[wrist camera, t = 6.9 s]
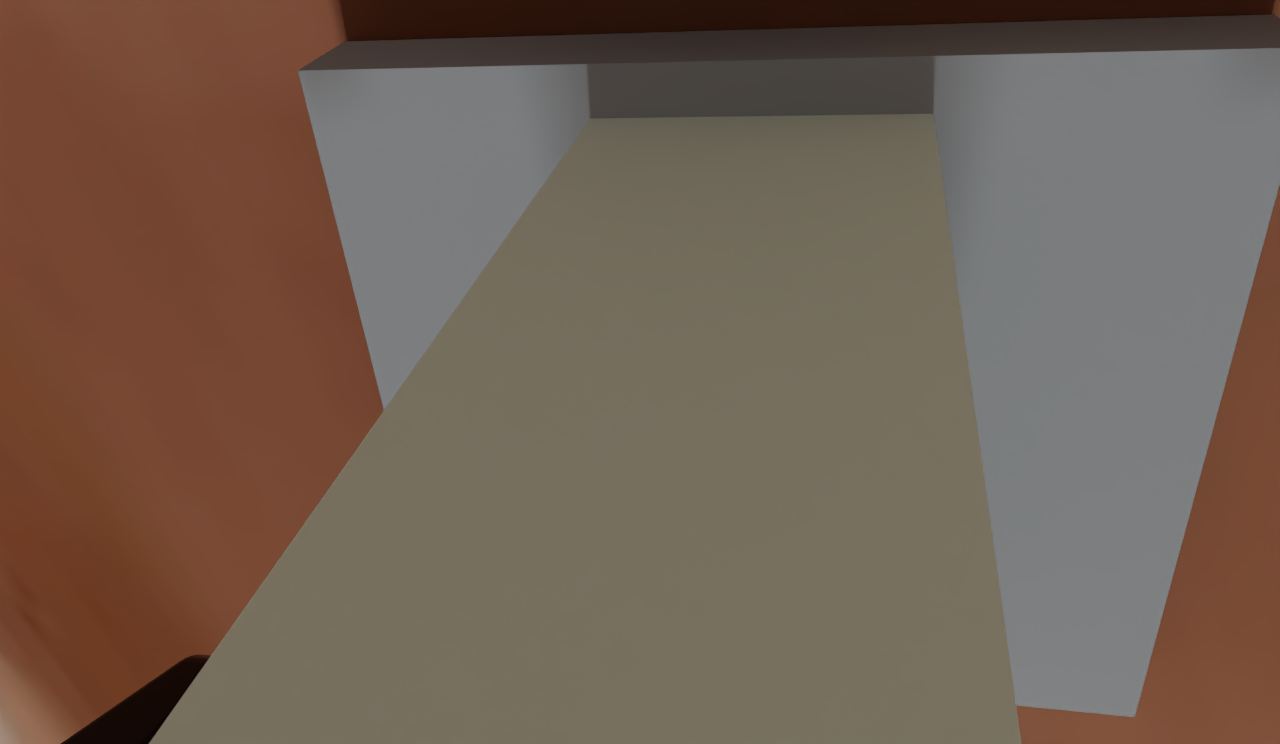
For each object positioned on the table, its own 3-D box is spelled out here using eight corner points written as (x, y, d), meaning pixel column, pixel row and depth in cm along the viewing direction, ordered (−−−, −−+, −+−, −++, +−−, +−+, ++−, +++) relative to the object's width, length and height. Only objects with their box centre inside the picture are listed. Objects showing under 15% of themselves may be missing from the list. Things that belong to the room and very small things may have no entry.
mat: (1273, 14, 10) (1317, 46, 9) (1117, 650, 15) (1134, 717, 14) (345, 41, 12) (298, 70, 11) (469, 593, 17) (444, 648, 16)
